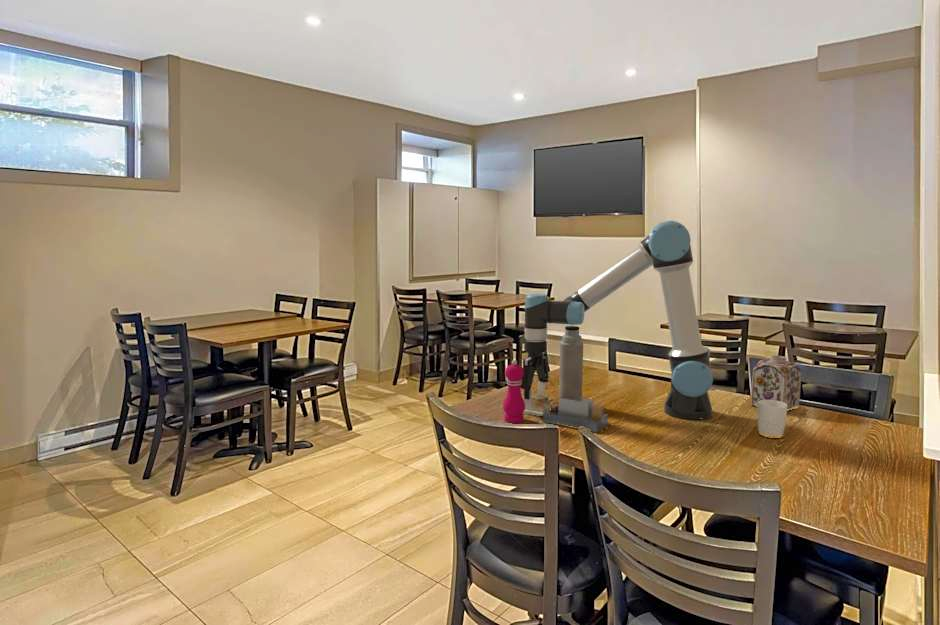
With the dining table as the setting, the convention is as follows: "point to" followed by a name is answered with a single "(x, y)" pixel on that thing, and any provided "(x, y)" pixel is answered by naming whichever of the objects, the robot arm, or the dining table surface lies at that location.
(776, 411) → the white cup
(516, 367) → the pepper mill
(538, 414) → the rubber mat
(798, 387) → the decorative jar
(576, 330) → the thermos bottle
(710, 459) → the dining table surface
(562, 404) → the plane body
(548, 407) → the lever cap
